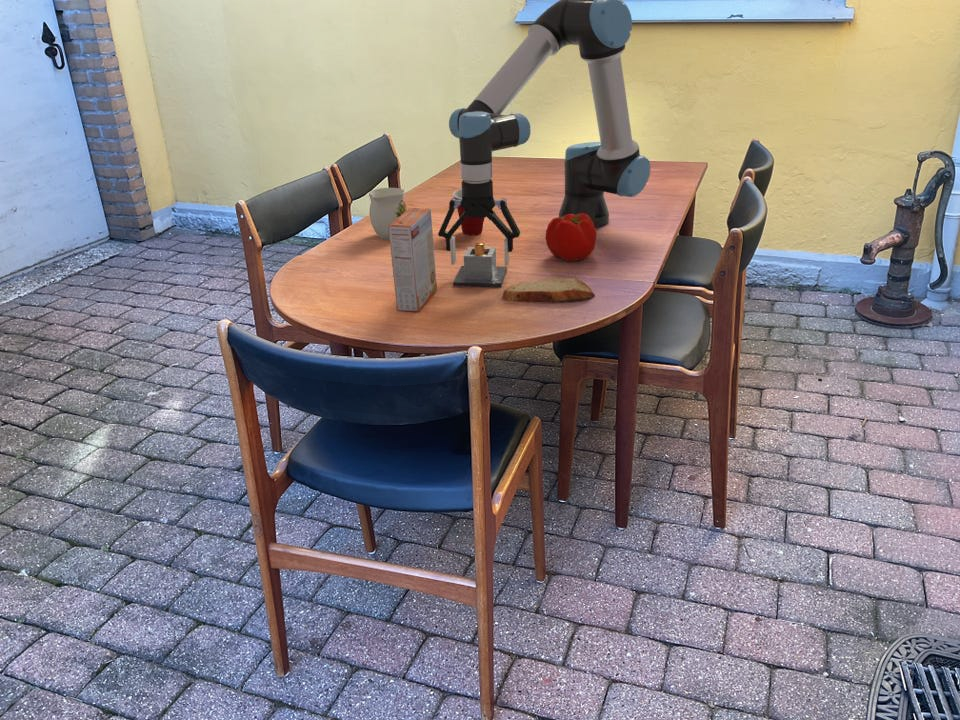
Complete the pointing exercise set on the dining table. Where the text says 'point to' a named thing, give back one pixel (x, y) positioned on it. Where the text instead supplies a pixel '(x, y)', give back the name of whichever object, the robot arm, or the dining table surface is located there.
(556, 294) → the bread slice
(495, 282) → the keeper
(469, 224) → the plastic cup
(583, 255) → the tomato
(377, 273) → the dining table surface
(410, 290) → the cracker box
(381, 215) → the pitcher
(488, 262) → the hollow gray block
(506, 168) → the dining table surface
